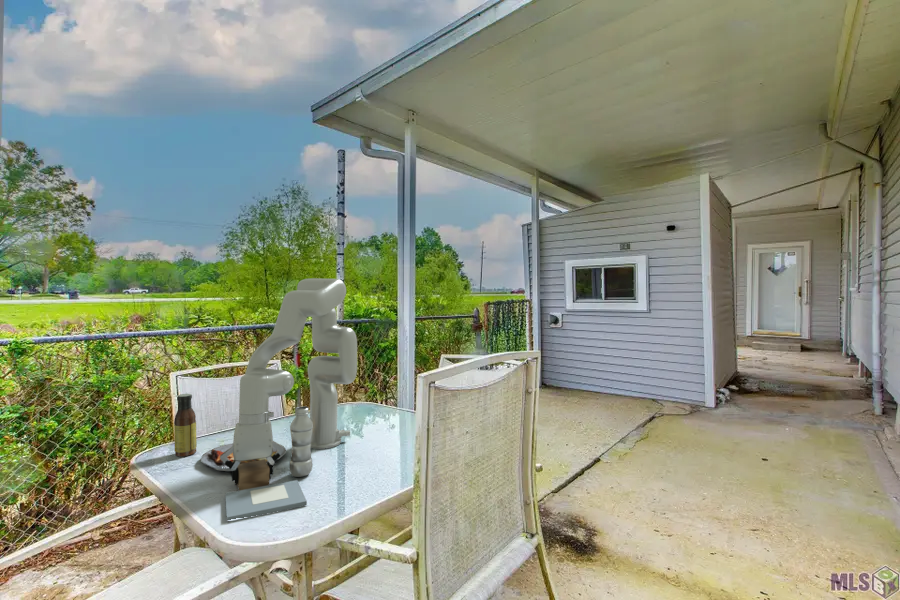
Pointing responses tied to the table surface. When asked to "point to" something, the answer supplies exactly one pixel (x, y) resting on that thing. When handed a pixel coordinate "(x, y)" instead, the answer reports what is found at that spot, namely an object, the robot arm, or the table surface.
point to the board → (264, 500)
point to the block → (253, 474)
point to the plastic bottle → (301, 443)
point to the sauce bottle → (185, 427)
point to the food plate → (215, 462)
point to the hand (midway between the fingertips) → (252, 479)
